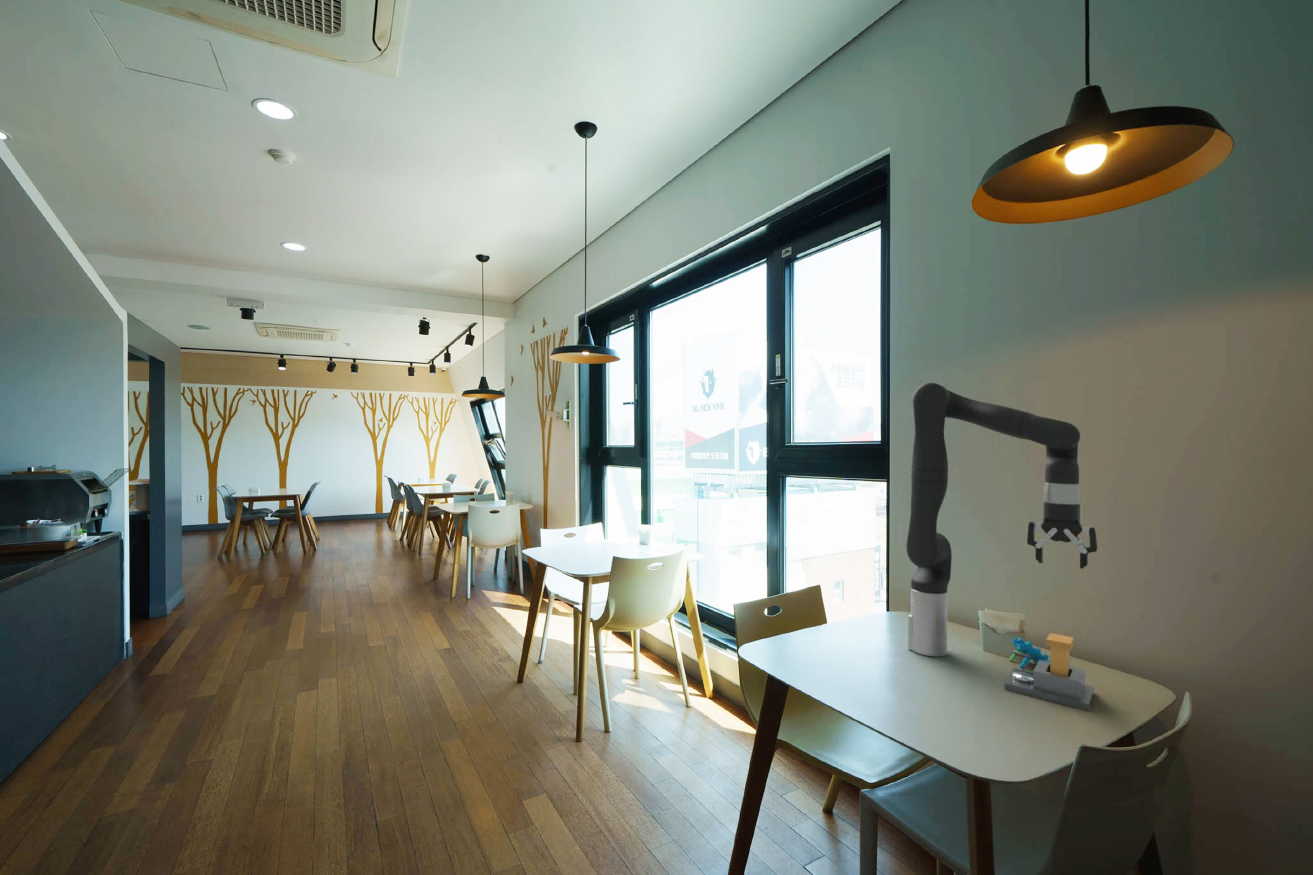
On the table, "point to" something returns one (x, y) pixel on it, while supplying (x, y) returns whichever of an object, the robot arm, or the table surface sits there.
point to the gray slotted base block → (1052, 685)
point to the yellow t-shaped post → (1059, 653)
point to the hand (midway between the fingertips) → (1061, 565)
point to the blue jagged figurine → (1027, 652)
